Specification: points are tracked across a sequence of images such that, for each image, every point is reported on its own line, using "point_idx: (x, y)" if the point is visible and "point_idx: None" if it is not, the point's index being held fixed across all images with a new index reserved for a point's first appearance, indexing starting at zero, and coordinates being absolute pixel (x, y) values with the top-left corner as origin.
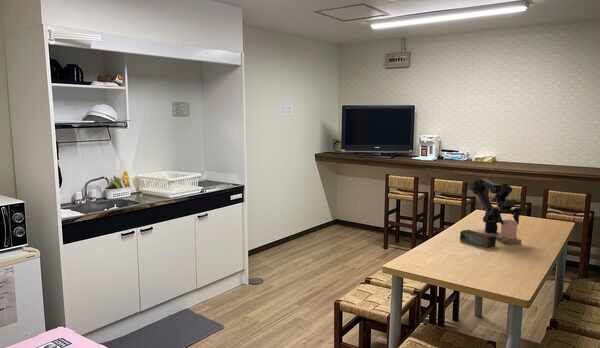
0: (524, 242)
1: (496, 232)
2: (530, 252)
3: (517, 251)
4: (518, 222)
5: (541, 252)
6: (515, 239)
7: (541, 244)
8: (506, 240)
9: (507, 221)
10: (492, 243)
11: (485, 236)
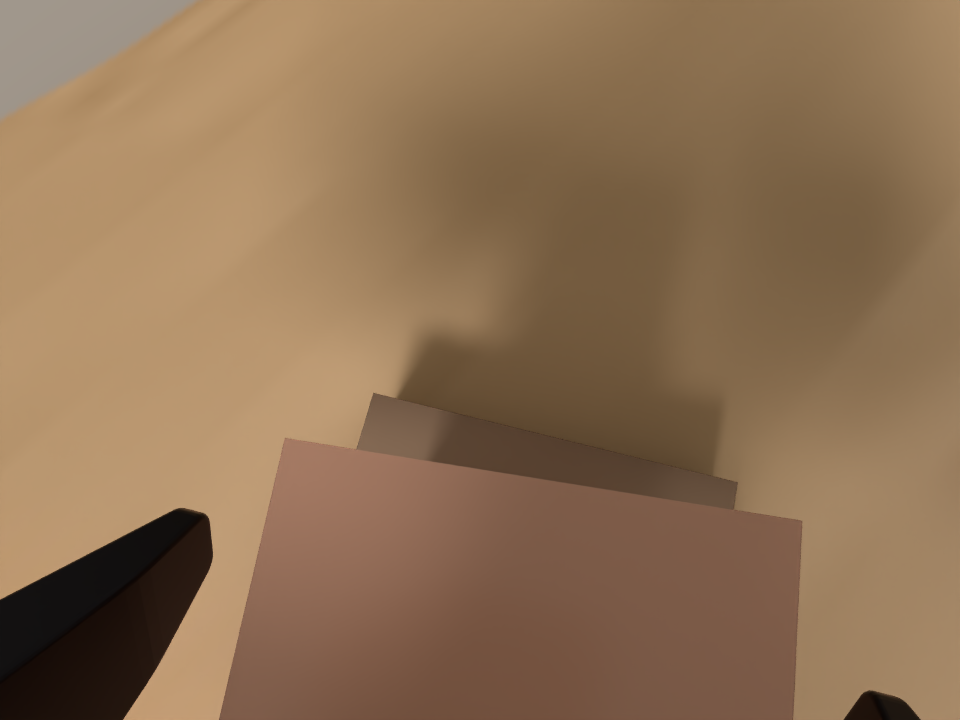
0: (251, 471)
1: None
2: (587, 38)
3: (750, 119)
4: (146, 533)
5: (432, 2)
6: (467, 454)
7: (85, 289)
8: (693, 472)
9: (690, 686)
10: None
11: None
